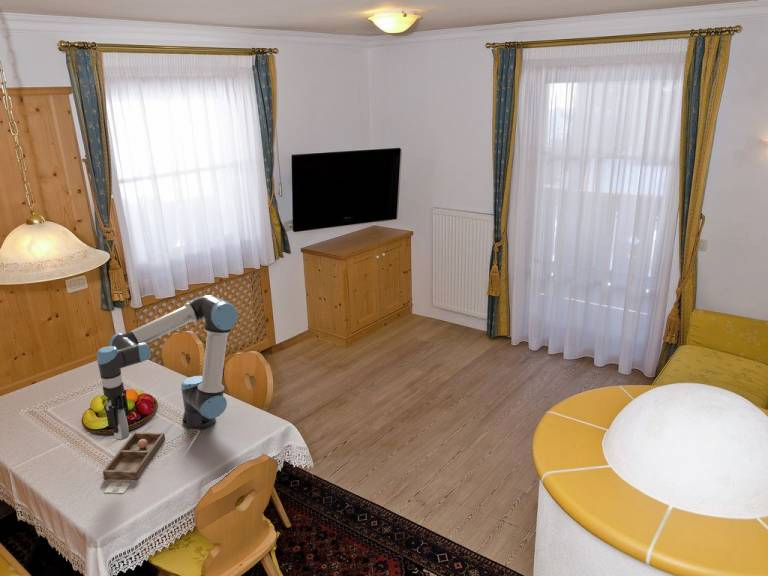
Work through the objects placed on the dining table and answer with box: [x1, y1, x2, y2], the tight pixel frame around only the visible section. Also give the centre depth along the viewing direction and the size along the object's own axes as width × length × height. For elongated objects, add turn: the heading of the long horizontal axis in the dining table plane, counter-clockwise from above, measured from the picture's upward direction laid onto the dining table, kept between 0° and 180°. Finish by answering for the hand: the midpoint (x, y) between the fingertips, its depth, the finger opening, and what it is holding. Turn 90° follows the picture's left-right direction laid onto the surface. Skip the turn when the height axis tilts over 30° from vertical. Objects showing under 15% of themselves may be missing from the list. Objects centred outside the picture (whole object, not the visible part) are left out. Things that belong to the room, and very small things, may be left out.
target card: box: [103, 481, 131, 495], centre depth 234 cm, size 8×6×1 cm
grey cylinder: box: [116, 408, 130, 441], centre depth 238 cm, size 5×5×12 cm
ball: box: [138, 439, 147, 448], centre depth 258 cm, size 4×4×4 cm
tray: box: [102, 432, 166, 482], centre depth 252 cm, size 14×28×4 cm, turn 177°
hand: (121, 434), depth 240 cm, fingers closed on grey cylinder, 5 cm apart
